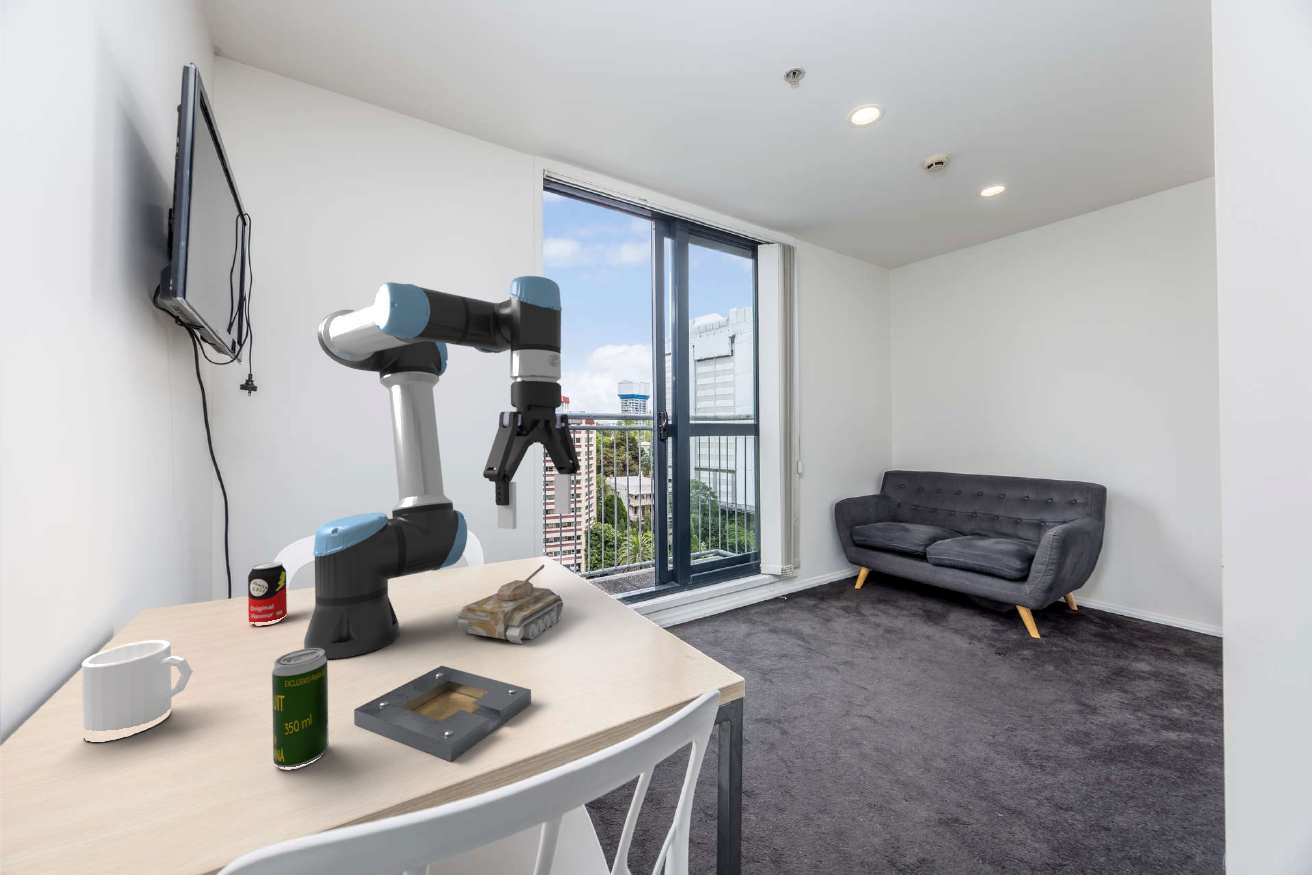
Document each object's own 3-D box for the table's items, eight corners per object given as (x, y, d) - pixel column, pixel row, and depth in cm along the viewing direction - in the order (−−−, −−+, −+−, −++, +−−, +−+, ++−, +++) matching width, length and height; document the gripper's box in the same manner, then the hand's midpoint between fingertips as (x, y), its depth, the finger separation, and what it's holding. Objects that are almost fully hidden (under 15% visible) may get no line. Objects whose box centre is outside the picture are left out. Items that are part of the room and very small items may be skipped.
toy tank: (453, 639, 95) (452, 587, 95) (517, 605, 113) (517, 561, 113) (520, 650, 89) (519, 595, 89) (576, 612, 108) (575, 566, 108)
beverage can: (244, 623, 104) (243, 566, 104) (280, 614, 109) (279, 559, 109) (255, 630, 100) (254, 570, 100) (291, 620, 105) (290, 563, 105)
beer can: (320, 738, 63) (319, 643, 63) (335, 755, 60) (333, 655, 60) (267, 759, 59) (266, 658, 59) (280, 778, 56) (278, 671, 56)
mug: (164, 740, 63) (163, 662, 63) (63, 745, 62) (62, 666, 62) (216, 706, 71) (215, 637, 71) (127, 710, 71) (126, 640, 71)
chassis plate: (354, 724, 66) (354, 707, 66) (441, 678, 79) (441, 664, 79) (451, 761, 58) (450, 742, 58) (531, 703, 71) (530, 688, 71)
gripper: (499, 371, 63) (500, 538, 63) (599, 387, 86) (599, 510, 86) (454, 374, 66) (455, 533, 66) (562, 389, 89) (563, 507, 89)
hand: (537, 520), depth 76 cm, fingers open, 13 cm apart
